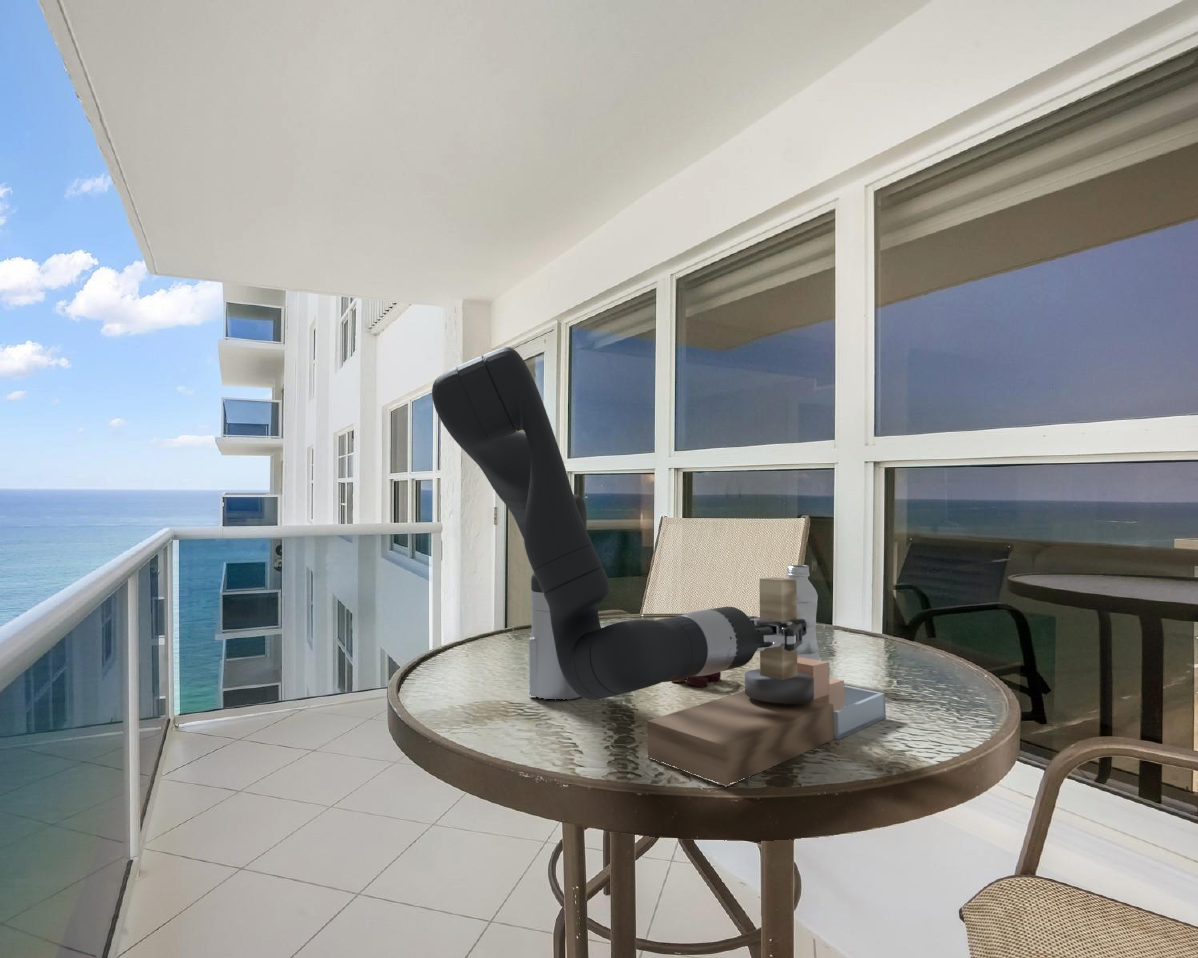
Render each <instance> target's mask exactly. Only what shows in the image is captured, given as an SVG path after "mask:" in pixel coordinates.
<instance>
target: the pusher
mask: <svg viewBox="0 0 1198 958" xmlns="http://www.w3.org/2000/svg"><path fill="white" fill-rule="evenodd" d="M759 617H760V619H761V620H764V619H776V620H780V621H786V620H789V621H790V620H795V619H797V589H796V579H789V577H788V578H786V577H775V576H774V577H764V578H763V577H761V578H759ZM769 626H770V625H769ZM782 628H783V627H781V633H782ZM744 691H745V694H746V695H747V696H748V697H751V698H753V699H756V700H760V701H765V702H772V703H784V704H795V703H805V702H809V701H812V700H813V699H814V678H813V677H812V676H811V675H809V674H806V673H802V672H798V671H797V648H796V649H795V650H792V651H787V650H785V649H784V648H783V647H782V643H781V645H780V646H779V647H772V648H765V649H764V650H763V651H759V668H757V669H750V670H747V671H746V672H744Z"/></svg>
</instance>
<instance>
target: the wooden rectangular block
mask: <svg viewBox="0 0 1198 958" xmlns="http://www.w3.org/2000/svg"><path fill="white" fill-rule="evenodd" d="M646 732H647V737H646V739H647V759H648V758H652V759H655V760H657V761H659V762H664V763H666V764H669V765H671V766H675V767H677V768H679V769H682V770H685V771H688V772H690V773H692V774H696V775H699V776H701V777H703V778H707V779H710V780H713V781H715V782H720V783H722V784H725V785H728V784H730V783H732V782H737V781H739V780H741V779H743V778H747V779H749V778H750V777H749V776H751V775H754V774H756V775H758V774H760V773H762V771H763V772H765V771H767V770H769V769H772V768H773V766H774V767H775V766H778V765H781V764H782V762H783V763H785V762H787V761H789V760H792V759H795V758H796V757H798V756H800V755H802V754H805V753H807V752H809V751H811V750H814V749H816V748H818V747H821V746H822V745H824V744H827V743H829V742H831V741H834V740H835V739H834V712H833V704H830V703H826V702H821V701H817V700H812V701H809V702H805V703H795V704H784V703H772V702H765V701H760V700H756V699H753V698H751V697H748V696H747V695H746V694H745V690H743V691H740V692H737V693H736V692H735V693H734V694H731V695H727V696H724V697H720V698H717V699H713V700H711V701H707V702H705V703H701V704H697V705H695V706H691V707H688V708H685V709H681V710H678V711H675V712H672V713H668V714H665V715H662V716H659V717H658V716H657V717H656V718H652V719H648V720H646ZM659 762H658V763H659ZM764 770H765V771H764ZM757 773H758V774H757ZM754 776H755V775H754ZM748 777H749V778H748Z"/></svg>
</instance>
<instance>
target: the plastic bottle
mask: <svg viewBox="0 0 1198 958" xmlns="http://www.w3.org/2000/svg"><path fill="white" fill-rule="evenodd" d="M786 568H787V570H786V577H788V578H789V579H796V589H797V619H805V621H806V623H807V633H806V634H805V635H804V636H802V644H801V645H799V646H798V647H797V658H799V657H803V658H809V659H815V660H821V657H820V656H821V655H820V653H819V648H818V647H819V646H818V640H817V639H818V638H817V628H816V626H817V611H818V597H819V596H818V592H817V590H816V589H815V587H814V585H813V584H812V583H811V582H810V580H809V577H810V576H811V575H810V574H811V573H810V567H809V565H804V564H794V565H793V564H790V565H787V567H786Z"/></svg>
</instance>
